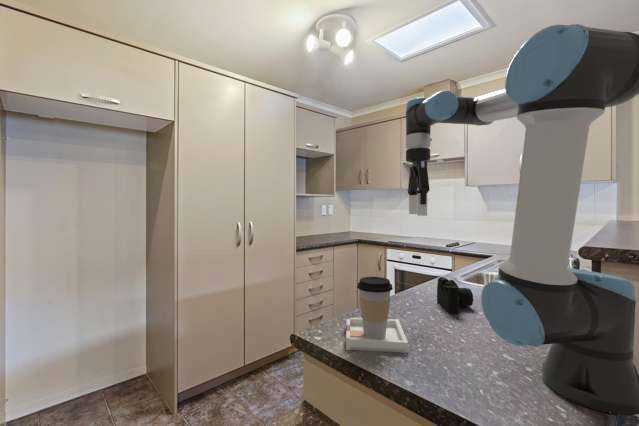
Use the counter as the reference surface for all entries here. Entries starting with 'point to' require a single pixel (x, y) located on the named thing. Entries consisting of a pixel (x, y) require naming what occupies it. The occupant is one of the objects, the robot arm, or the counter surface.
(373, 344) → the tray
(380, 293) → the coffee cup
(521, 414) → the counter surface
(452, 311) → the camera
